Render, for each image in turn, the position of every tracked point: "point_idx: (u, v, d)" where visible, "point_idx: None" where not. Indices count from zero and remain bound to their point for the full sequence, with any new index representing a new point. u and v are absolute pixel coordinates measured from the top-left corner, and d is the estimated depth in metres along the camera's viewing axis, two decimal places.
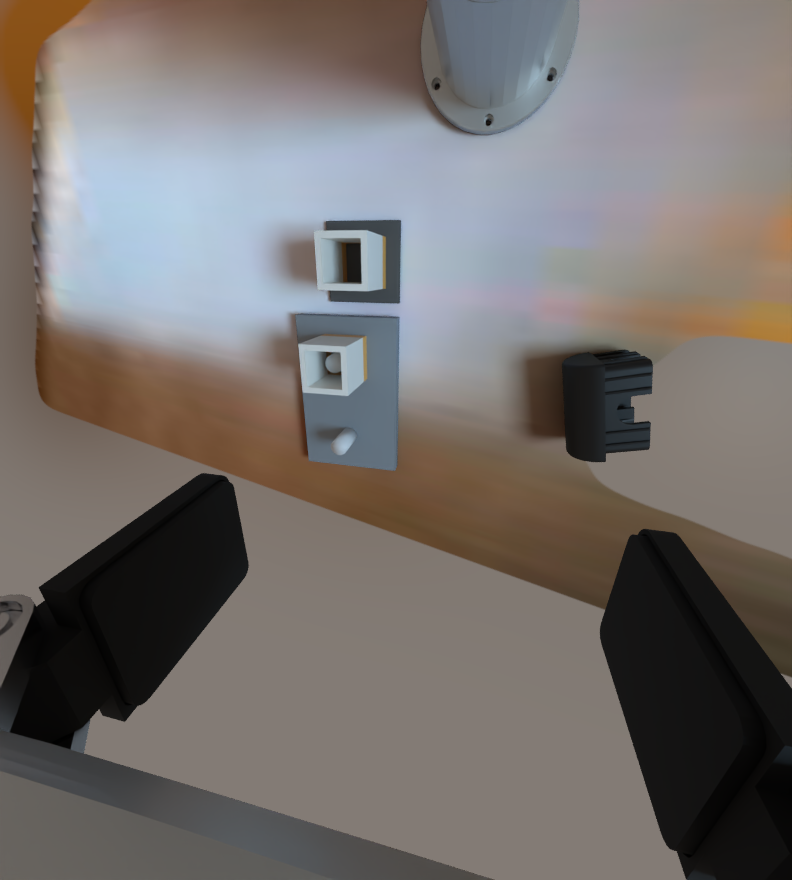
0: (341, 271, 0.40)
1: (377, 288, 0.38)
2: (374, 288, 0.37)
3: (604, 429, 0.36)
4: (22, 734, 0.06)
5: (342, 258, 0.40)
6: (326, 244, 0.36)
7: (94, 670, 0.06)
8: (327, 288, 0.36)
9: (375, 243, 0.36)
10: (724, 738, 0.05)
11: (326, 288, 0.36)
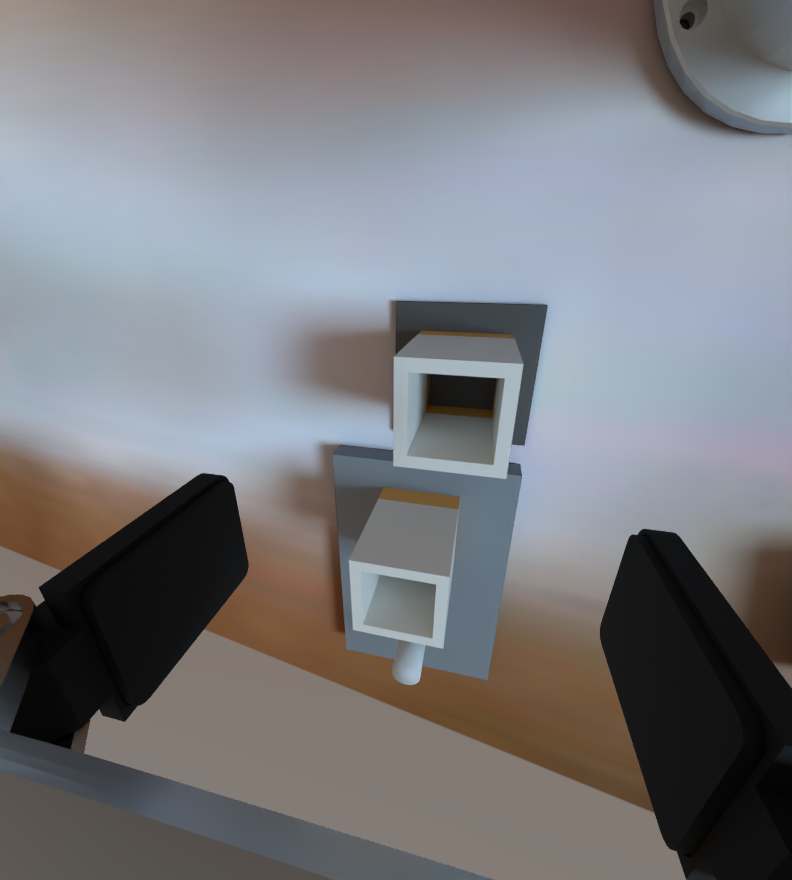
0: (424, 397, 0.21)
1: None
2: None
3: None
4: (22, 734, 0.06)
5: (427, 374, 0.21)
6: (413, 374, 0.17)
7: (94, 670, 0.06)
8: (414, 465, 0.17)
9: None
10: (724, 738, 0.05)
11: (412, 465, 0.17)
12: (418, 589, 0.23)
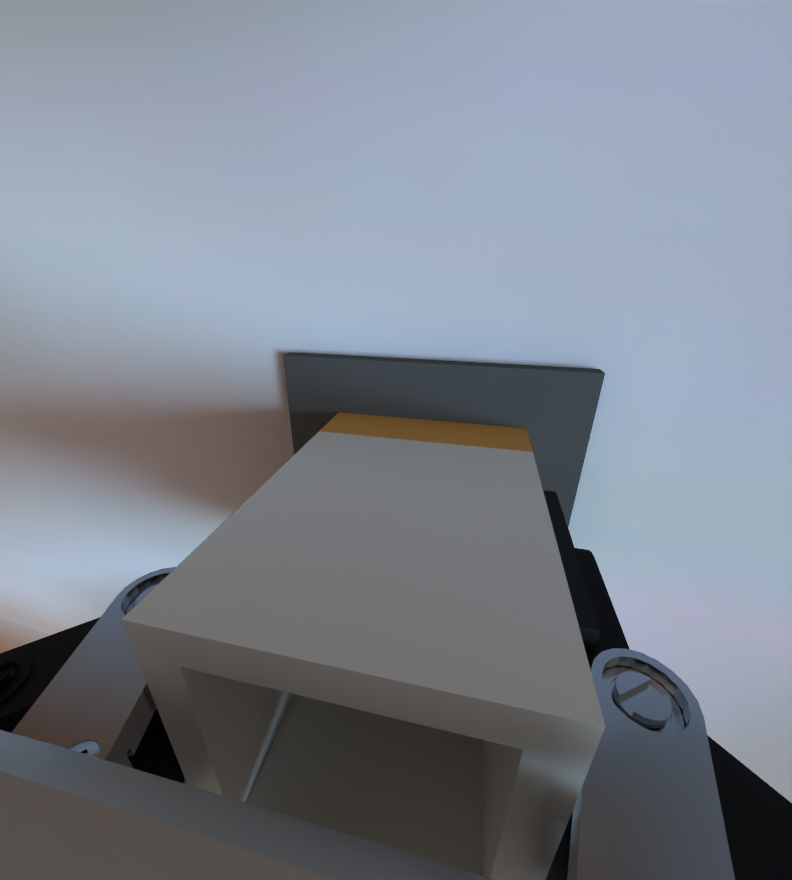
0: None
1: None
2: None
3: None
4: None
5: None
6: None
7: None
8: None
9: None
10: None
11: None
12: None
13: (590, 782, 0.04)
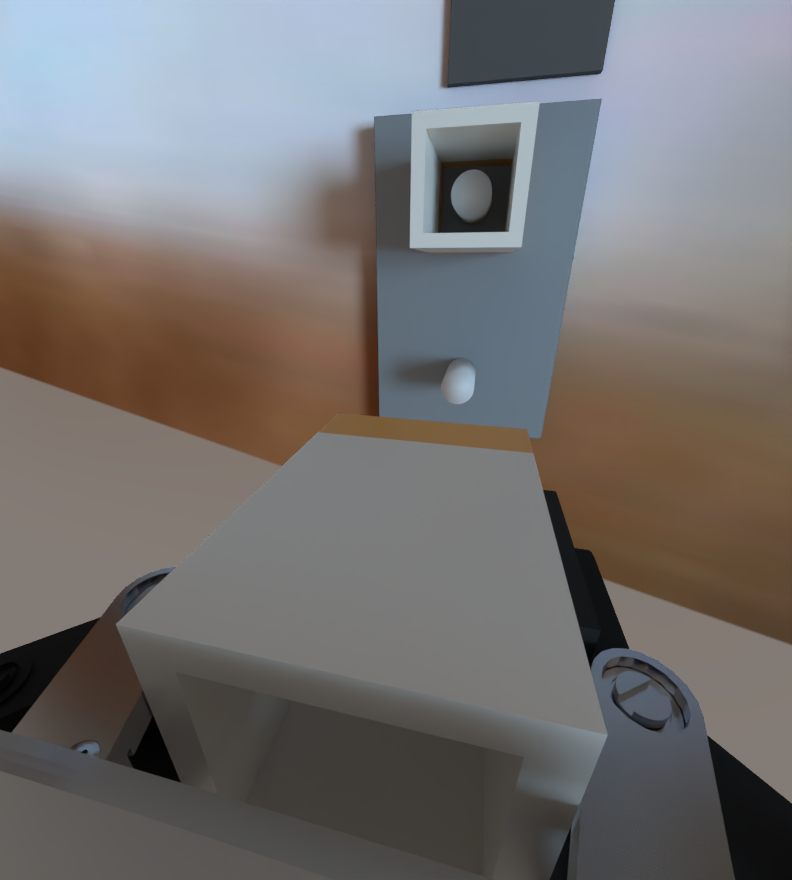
0: None
1: None
2: None
3: None
4: None
5: None
6: None
7: None
8: None
9: None
10: None
11: None
12: None
13: (589, 782, 0.04)
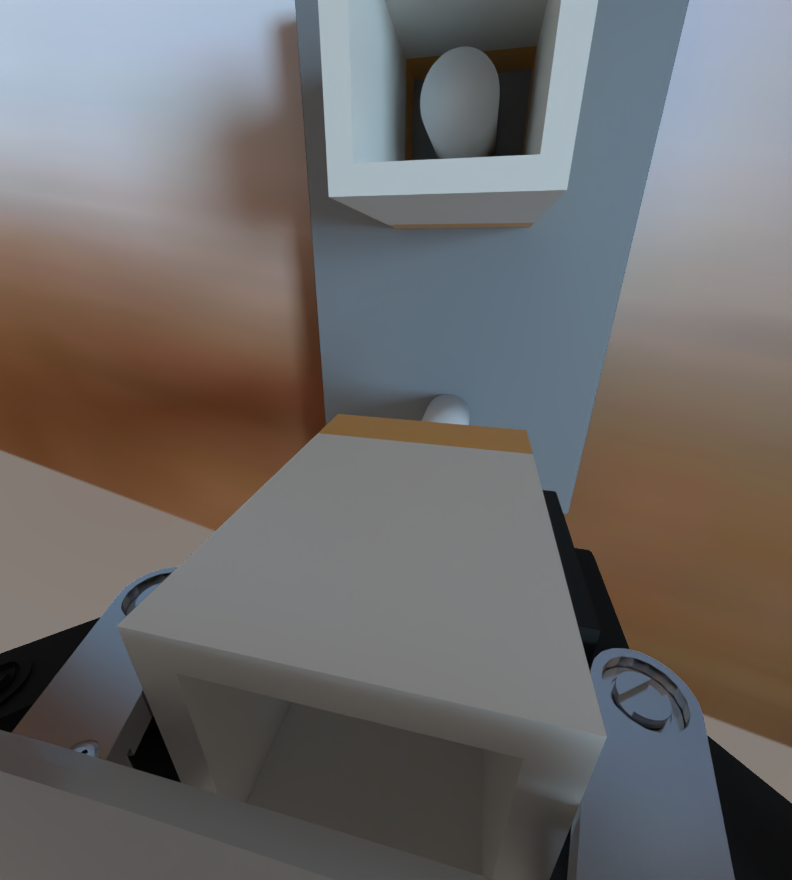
0: None
1: None
2: None
3: None
4: None
5: None
6: None
7: None
8: None
9: None
10: None
11: None
12: None
13: (590, 781, 0.04)
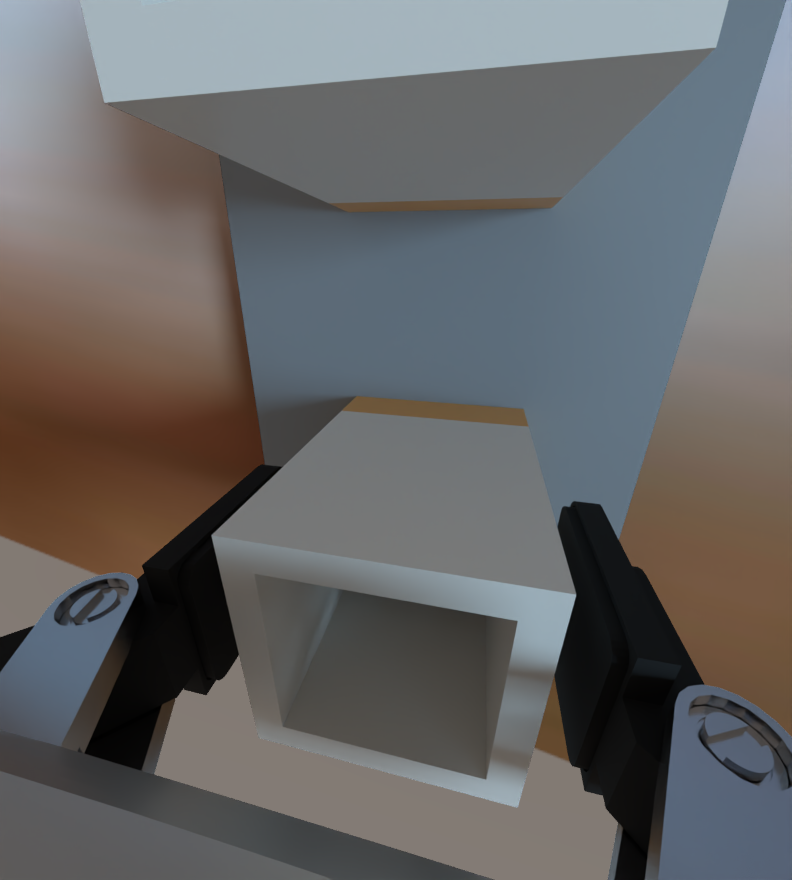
0: None
1: None
2: None
3: None
4: (117, 706, 0.06)
5: None
6: None
7: (186, 644, 0.07)
8: (303, 745, 0.07)
9: None
10: (603, 661, 0.05)
11: (299, 744, 0.07)
12: None
13: (702, 852, 0.03)
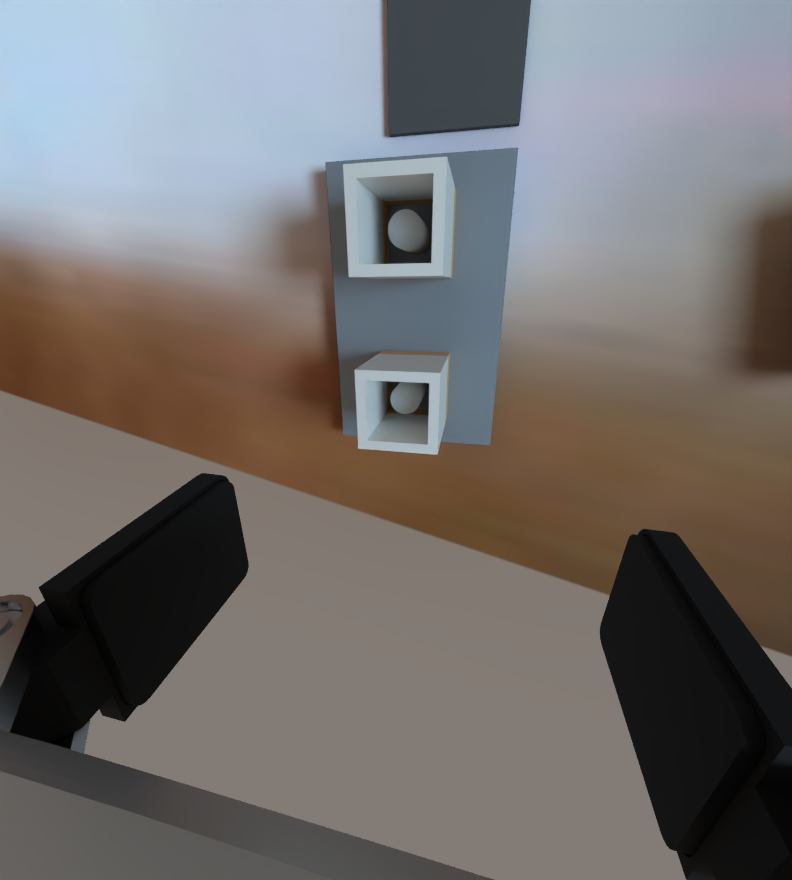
0: (385, 400, 0.28)
1: (442, 431, 0.26)
2: None
3: None
4: (22, 734, 0.06)
5: (386, 383, 0.28)
6: (371, 382, 0.23)
7: (94, 670, 0.06)
8: (373, 447, 0.24)
9: (444, 376, 0.24)
10: (724, 738, 0.05)
11: (371, 447, 0.24)
12: None
13: None
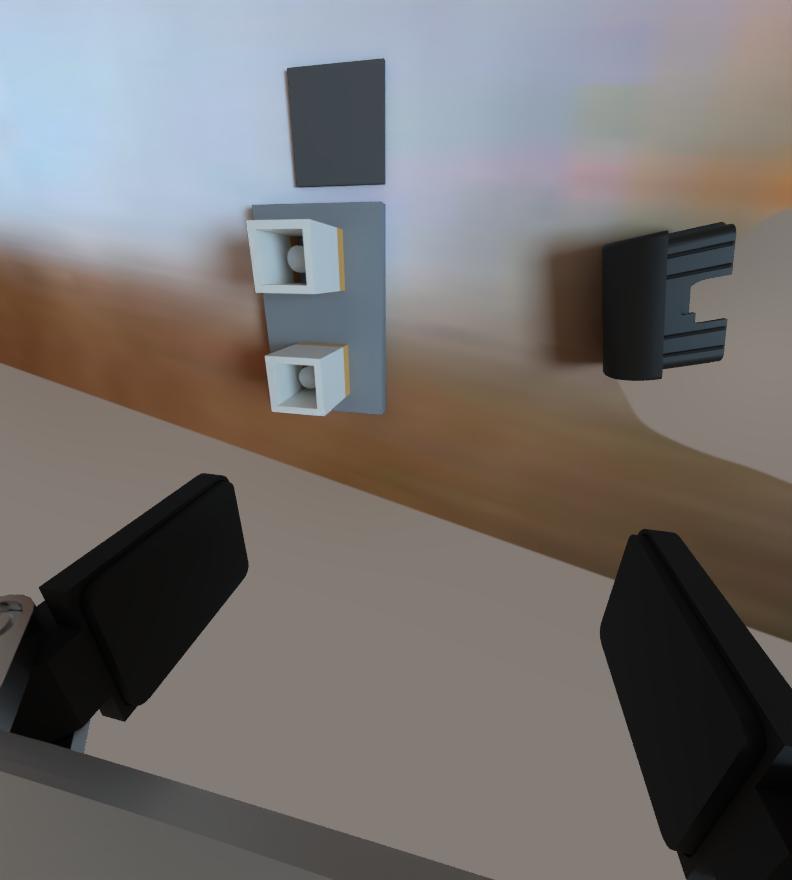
0: None
1: (338, 402, 0.36)
2: (333, 406, 0.35)
3: (662, 330, 0.27)
4: (22, 734, 0.06)
5: (302, 366, 0.38)
6: (280, 364, 0.33)
7: (94, 670, 0.06)
8: (281, 410, 0.34)
9: (332, 362, 0.34)
10: (724, 738, 0.05)
11: (280, 410, 0.34)
12: None
13: None
